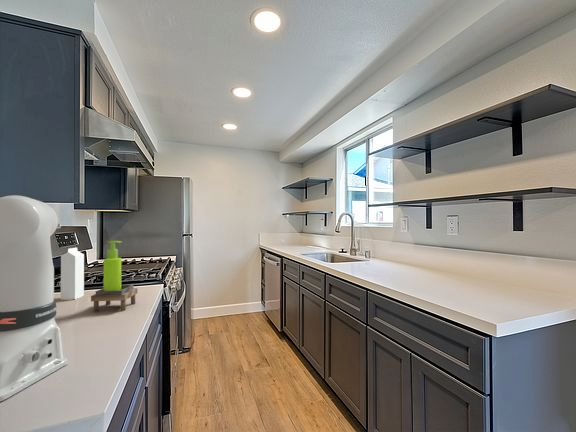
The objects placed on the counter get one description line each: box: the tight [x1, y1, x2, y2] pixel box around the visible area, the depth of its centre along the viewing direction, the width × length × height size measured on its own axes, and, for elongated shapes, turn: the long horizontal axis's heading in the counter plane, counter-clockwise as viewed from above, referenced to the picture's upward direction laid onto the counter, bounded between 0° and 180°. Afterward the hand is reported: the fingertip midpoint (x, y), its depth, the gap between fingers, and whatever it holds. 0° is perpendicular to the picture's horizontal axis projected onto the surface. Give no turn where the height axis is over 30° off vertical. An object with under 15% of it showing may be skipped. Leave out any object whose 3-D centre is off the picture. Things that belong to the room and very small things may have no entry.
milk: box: [60, 247, 85, 301], centre depth 128 cm, size 6×6×22 cm
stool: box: [90, 284, 138, 313], centre depth 113 cm, size 11×12×8 cm
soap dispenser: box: [103, 240, 124, 291], centre depth 112 cm, size 6×7×20 cm
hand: (50, 226), depth 105 cm, fingers open, 8 cm apart
